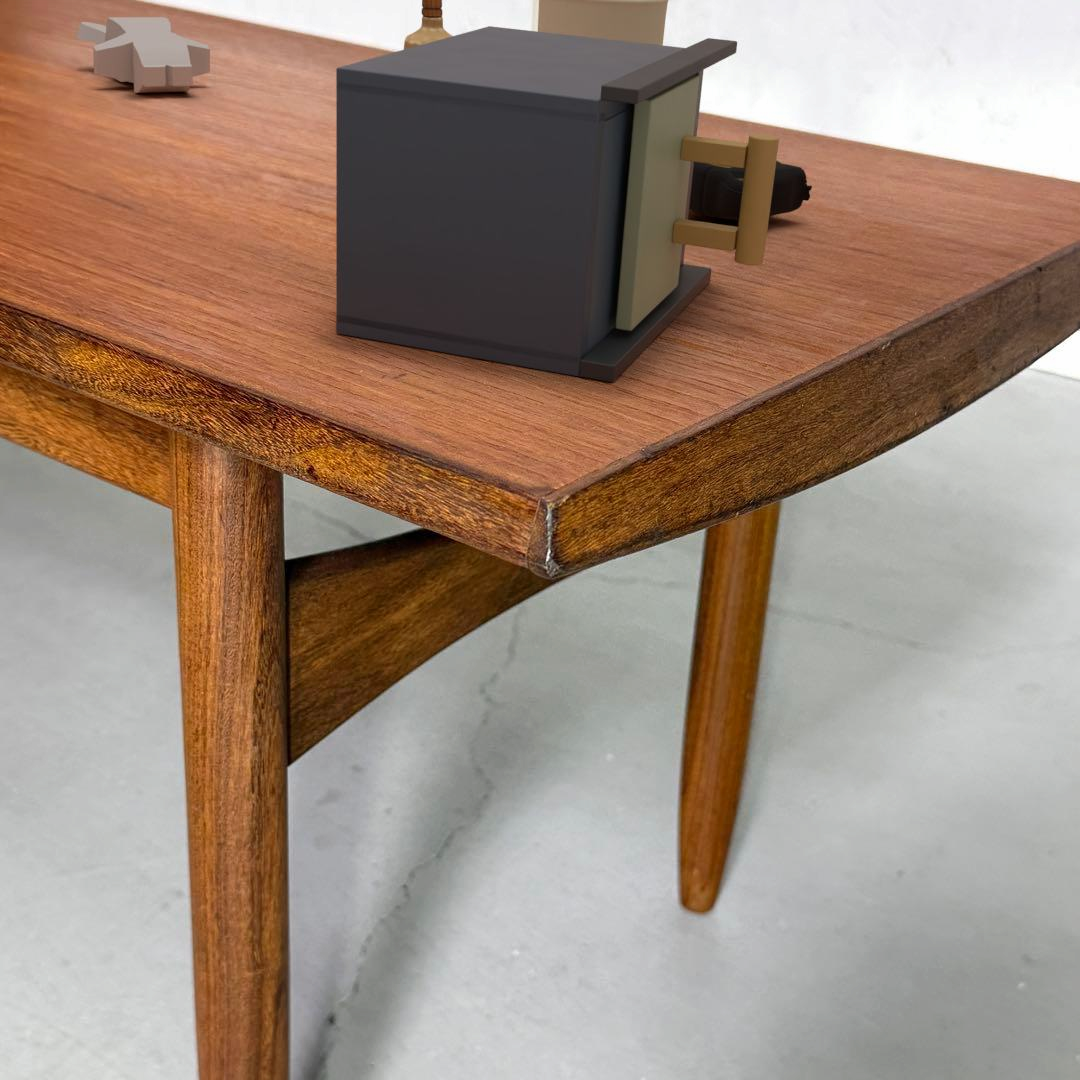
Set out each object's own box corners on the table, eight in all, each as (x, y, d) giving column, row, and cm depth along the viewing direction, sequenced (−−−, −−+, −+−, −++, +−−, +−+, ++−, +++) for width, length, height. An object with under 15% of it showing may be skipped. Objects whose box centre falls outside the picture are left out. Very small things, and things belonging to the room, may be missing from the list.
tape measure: (735, 237, 90) (742, 175, 89) (655, 212, 95) (660, 152, 93) (807, 224, 94) (815, 164, 93) (727, 200, 99) (734, 143, 97)
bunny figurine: (108, 47, 115) (62, -2, 126) (110, 112, 118) (65, 59, 129) (226, 45, 120) (172, -2, 130) (226, 108, 122) (173, 57, 133)
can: (663, 153, 112) (679, -17, 106) (642, 177, 104) (659, -5, 98) (543, 140, 113) (554, -28, 108) (514, 163, 105) (524, -17, 100)
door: (765, 300, 74) (792, 86, 70) (726, 347, 67) (754, 112, 63) (663, 283, 76) (683, 73, 71) (614, 329, 69) (634, 98, 64)
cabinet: (710, 282, 81) (737, 41, 75) (613, 383, 66) (638, 89, 60) (479, 246, 85) (488, 14, 79) (335, 333, 69) (335, 53, 64)
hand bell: (442, 119, 119) (449, -98, 112) (359, 103, 122) (361, -107, 115) (499, 106, 125) (508, -100, 118) (419, 92, 129) (423, -108, 122)
